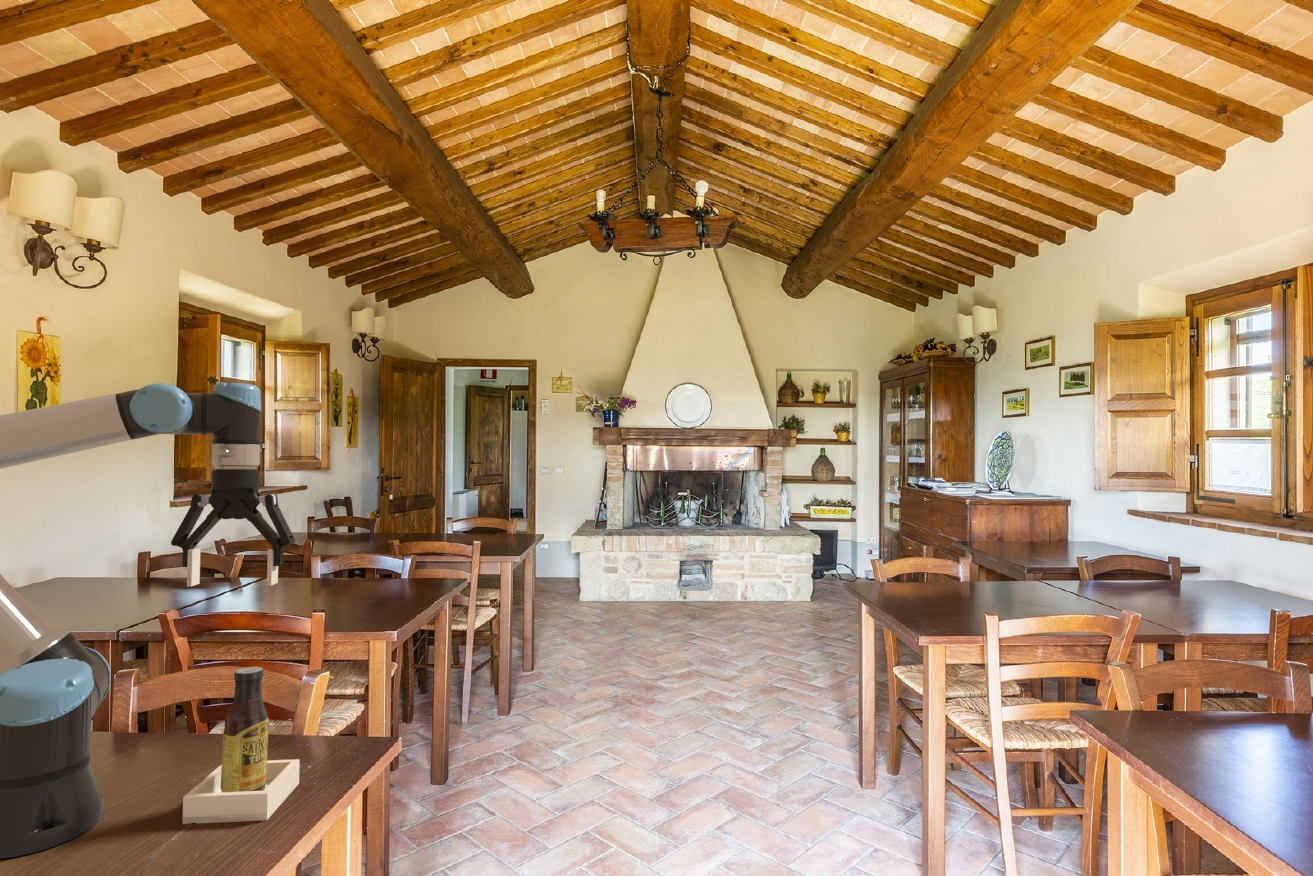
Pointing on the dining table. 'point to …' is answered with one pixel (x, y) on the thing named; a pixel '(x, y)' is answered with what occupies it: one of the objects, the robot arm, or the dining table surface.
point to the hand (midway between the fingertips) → (233, 584)
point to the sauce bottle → (245, 735)
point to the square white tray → (240, 796)
